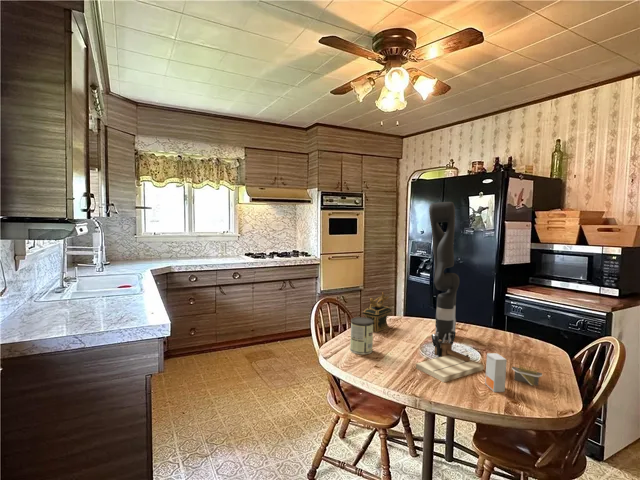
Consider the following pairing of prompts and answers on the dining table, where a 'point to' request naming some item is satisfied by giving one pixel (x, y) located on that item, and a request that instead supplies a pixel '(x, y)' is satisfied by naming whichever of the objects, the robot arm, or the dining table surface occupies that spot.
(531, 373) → the grey storage bin
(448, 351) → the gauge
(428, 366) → the board
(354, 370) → the dining table surface
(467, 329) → the dining table surface
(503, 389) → the skincare box
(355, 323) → the coffee can
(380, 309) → the decorative box
